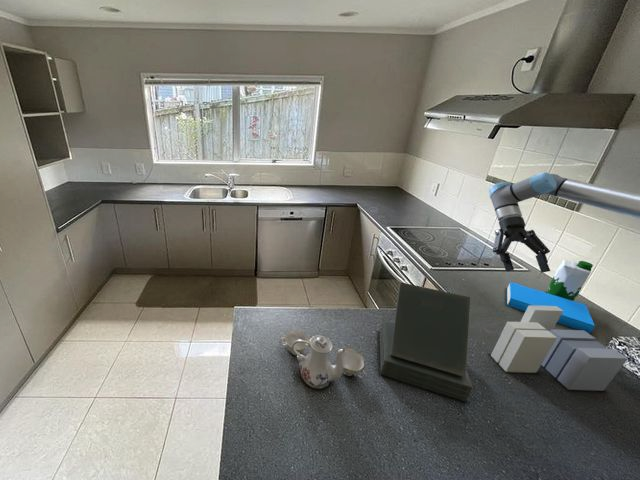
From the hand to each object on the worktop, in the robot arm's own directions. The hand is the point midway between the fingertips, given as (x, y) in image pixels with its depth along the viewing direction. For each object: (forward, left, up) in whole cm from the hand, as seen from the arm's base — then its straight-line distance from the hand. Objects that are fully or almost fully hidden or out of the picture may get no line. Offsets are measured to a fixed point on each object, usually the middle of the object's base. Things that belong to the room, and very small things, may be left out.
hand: (527, 271), depth 104 cm
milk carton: (-12, -38, -23) cm, 46 cm away
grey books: (-19, +16, -23) cm, 34 cm away
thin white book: (-8, +7, -23) cm, 26 cm away
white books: (-7, +25, -23) cm, 35 cm away
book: (-9, -23, -23) cm, 34 cm away
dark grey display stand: (+14, +51, -23) cm, 58 cm away
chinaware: (+33, +79, -23) cm, 89 cm away
